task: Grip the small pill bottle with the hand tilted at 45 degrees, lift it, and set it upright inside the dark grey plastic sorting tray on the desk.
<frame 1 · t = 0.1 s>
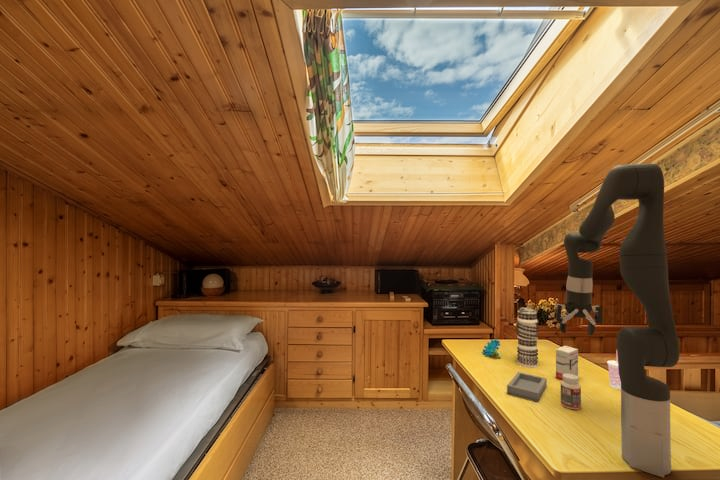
hand: (576, 333, 116), 22 cm above the table, tool pointing down, fingers open, 8 cm apart
sorting tray: (527, 389, 121), on the table
ink box: (567, 378, 132), on the table
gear: (491, 356, 158), on the table
pill bottle: (570, 406, 109), on the table
beverage cup: (617, 387, 123), on the table
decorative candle: (527, 364, 147), on the table
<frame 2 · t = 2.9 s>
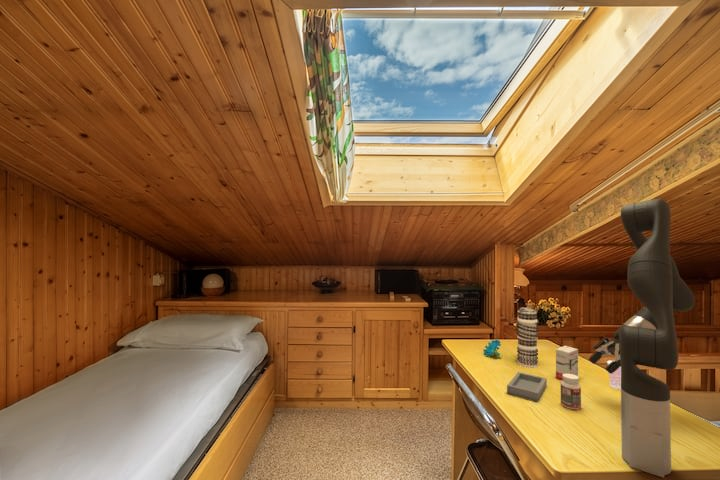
hand: (599, 366, 109), 13 cm above the table, tool tilted 45°, fingers open, 8 cm apart
nothing on the table moved.
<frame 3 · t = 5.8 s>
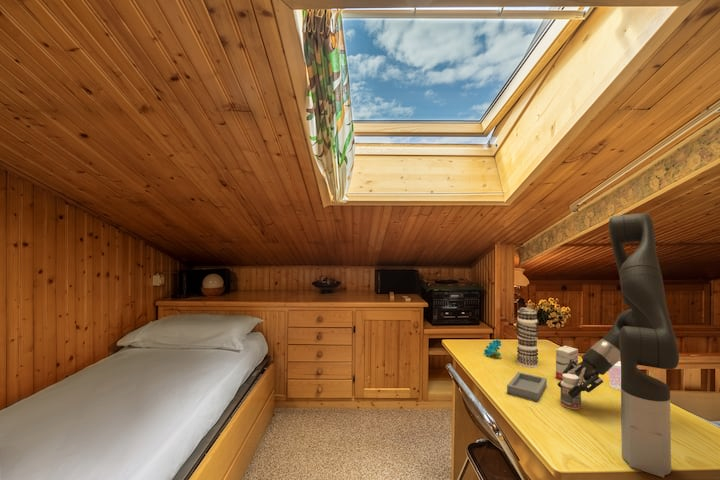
hand: (565, 391, 109), 5 cm above the table, tool tilted 45°, fingers closed on pill bottle, 5 cm apart
pill bottle: (570, 406, 109), on the table, touching gripper
everything else where it was.
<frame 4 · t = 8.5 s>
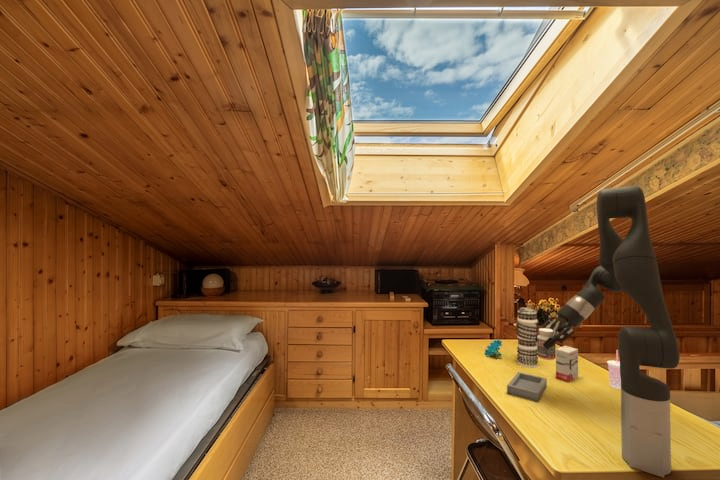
hand: (540, 344, 117), 18 cm above the table, tool tilted 45°, fingers closed on pill bottle, 5 cm apart
pill bottle: (546, 358, 117), point 13 cm above the table, touching gripper
everything else where it was.
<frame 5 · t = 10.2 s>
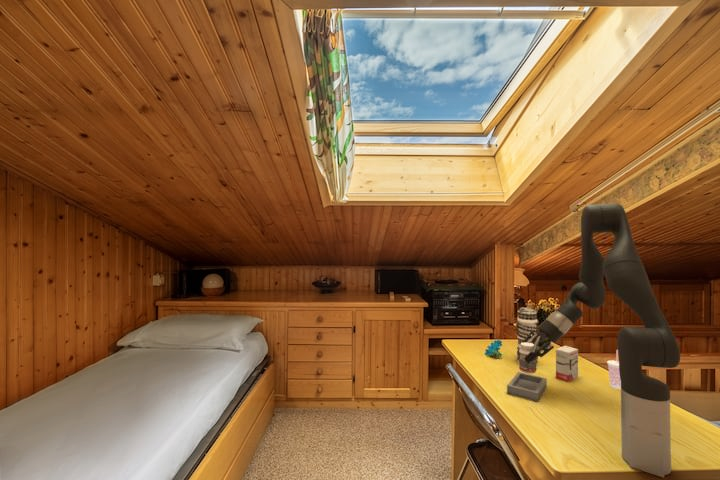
hand: (522, 358, 121), 12 cm above the table, tool tilted 45°, fingers closed on pill bottle, 5 cm apart
pill bottle: (527, 371, 121), point 7 cm above the table, touching gripper
when the fingers open (7 cm above the table, at t = 11.6 s): pill bottle stays where it is, resting on sorting tray.
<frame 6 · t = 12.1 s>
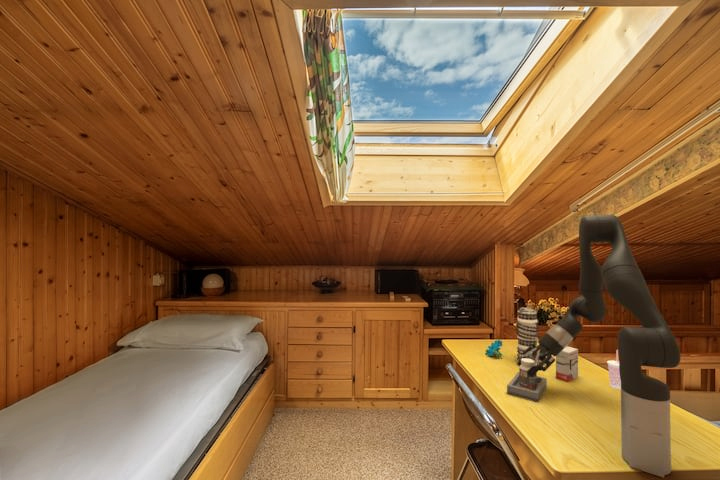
hand: (523, 370, 121), 7 cm above the table, tool tilted 45°, fingers open, 8 cm apart
pill bottle: (527, 387, 121), point 1 cm above the table, touching sorting tray
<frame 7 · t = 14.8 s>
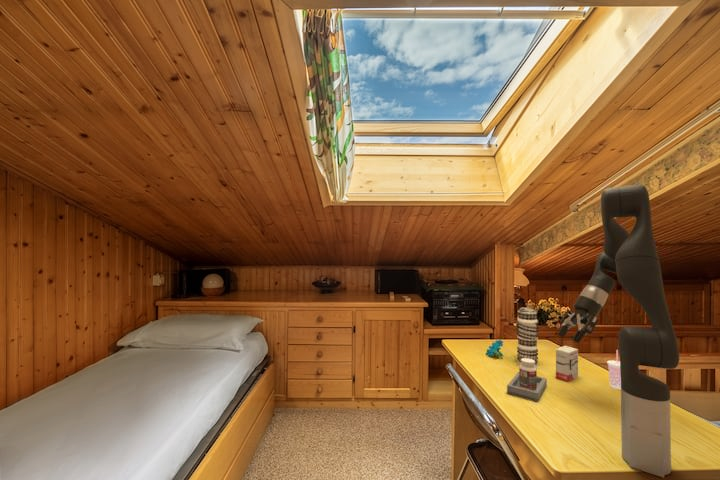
hand: (567, 338, 116), 20 cm above the table, tool tilted 35°, fingers open, 8 cm apart
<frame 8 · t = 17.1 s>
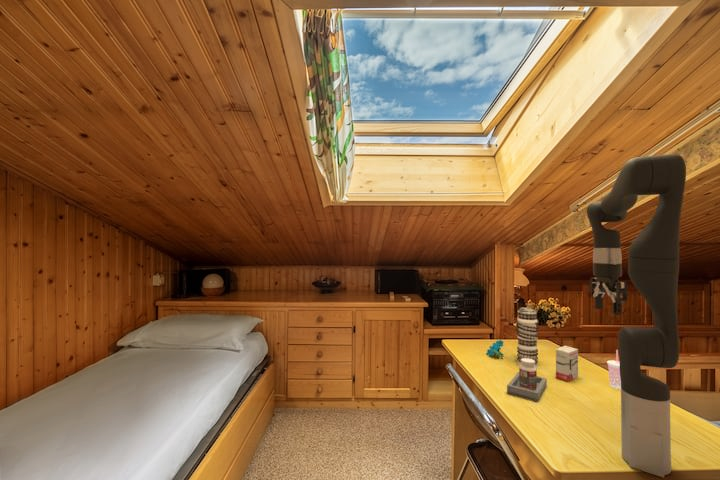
hand: (607, 311, 106), 32 cm above the table, tool pointing down, fingers open, 8 cm apart
at the end: pill bottle inside the target area on the sorting tray (0.3 cm from its centre), point 0.8 cm above the sorting tray's base; pill bottle tilted 0°; the gripper is holding nothing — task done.
